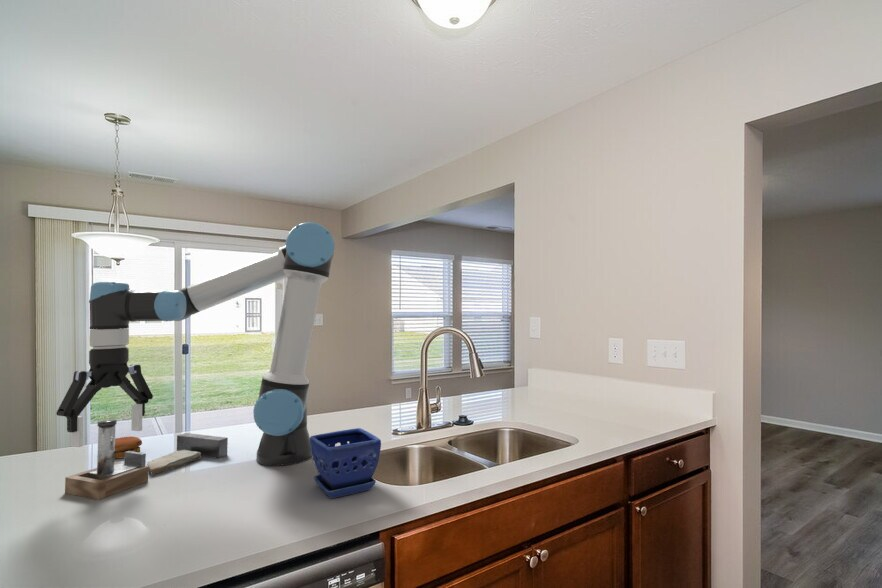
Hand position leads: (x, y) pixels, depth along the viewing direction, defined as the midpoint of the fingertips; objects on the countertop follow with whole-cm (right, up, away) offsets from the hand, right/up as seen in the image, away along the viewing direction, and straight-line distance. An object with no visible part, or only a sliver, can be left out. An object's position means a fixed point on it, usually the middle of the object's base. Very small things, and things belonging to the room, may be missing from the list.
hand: (108, 438), depth 104 cm
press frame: (0, -12, +1) cm, 12 cm away
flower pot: (+56, -12, -1) cm, 57 cm away
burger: (-15, -13, +25) cm, 32 cm away
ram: (+1, -11, +2) cm, 11 cm away
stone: (+6, -13, +16) cm, 22 cm away
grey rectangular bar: (+9, -13, +25) cm, 29 cm away
